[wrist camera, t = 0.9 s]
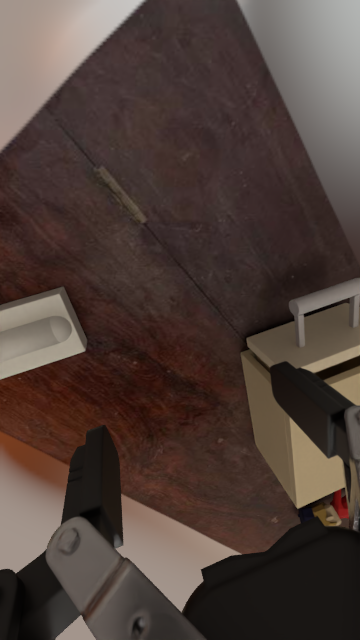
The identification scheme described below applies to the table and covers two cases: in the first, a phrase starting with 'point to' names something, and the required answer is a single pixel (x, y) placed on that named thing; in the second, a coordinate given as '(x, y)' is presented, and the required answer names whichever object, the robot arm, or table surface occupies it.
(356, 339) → the drawer
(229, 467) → the table surface
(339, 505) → the toy
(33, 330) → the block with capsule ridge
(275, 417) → the cabinet
